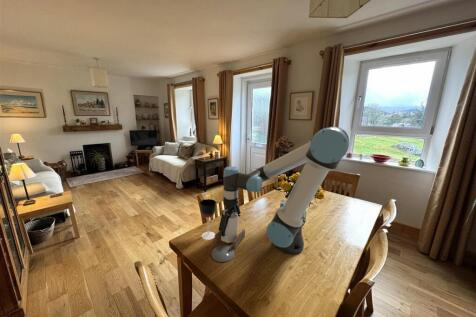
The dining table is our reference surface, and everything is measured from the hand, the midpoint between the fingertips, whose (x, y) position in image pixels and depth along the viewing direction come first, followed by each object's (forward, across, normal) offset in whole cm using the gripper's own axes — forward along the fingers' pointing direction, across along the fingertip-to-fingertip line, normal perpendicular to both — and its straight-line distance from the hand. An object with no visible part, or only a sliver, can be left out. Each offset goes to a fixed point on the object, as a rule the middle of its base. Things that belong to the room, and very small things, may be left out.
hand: (230, 233), depth 102 cm
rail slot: (+4, 0, 0) cm, 4 cm away
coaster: (+4, +11, +2) cm, 12 cm away
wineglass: (+4, +2, -12) cm, 13 cm away
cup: (+4, 0, 0) cm, 4 cm away
